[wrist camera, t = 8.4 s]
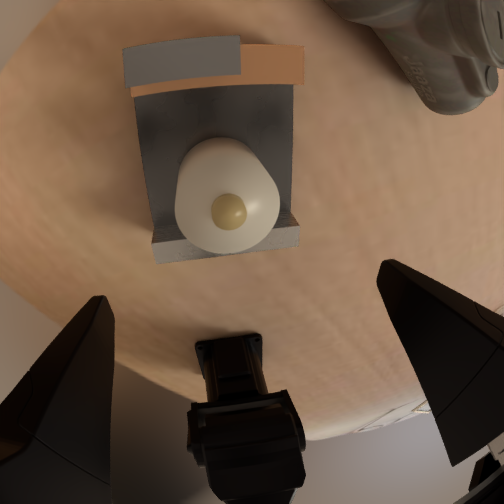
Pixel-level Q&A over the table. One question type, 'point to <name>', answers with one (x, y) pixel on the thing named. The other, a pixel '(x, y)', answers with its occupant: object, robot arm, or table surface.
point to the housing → (225, 197)
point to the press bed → (206, 127)
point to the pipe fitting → (438, 45)
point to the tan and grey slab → (209, 64)
